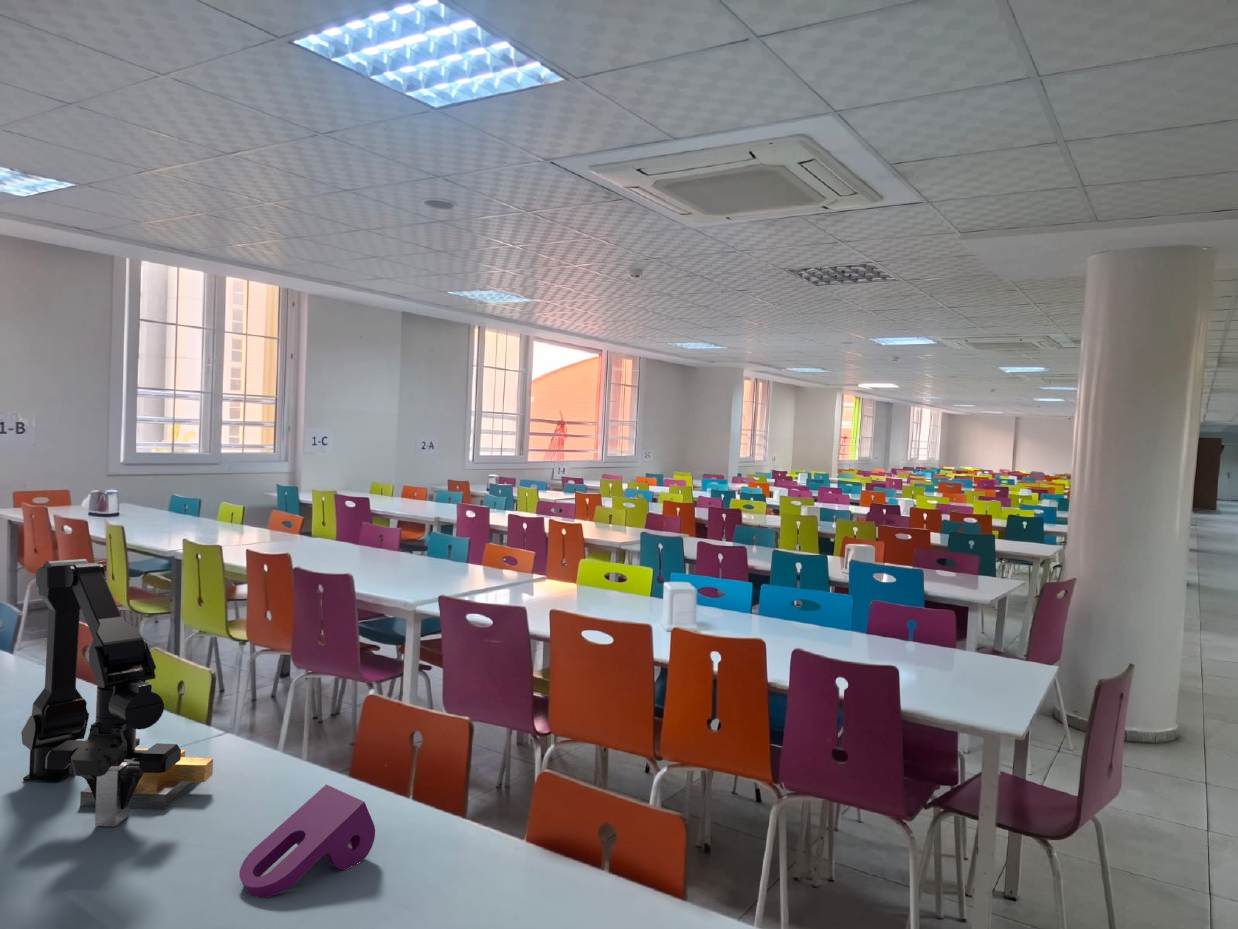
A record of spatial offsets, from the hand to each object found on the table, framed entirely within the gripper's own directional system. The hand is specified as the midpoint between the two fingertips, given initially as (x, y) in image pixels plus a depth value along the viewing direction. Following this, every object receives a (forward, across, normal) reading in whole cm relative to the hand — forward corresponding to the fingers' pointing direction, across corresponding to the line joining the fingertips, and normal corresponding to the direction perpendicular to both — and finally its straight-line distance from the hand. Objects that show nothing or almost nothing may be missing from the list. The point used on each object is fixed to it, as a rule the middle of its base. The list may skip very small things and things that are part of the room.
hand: (112, 808), depth 134 cm
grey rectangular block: (+2, 0, 0) cm, 2 cm away
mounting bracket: (+3, +35, -13) cm, 38 cm away
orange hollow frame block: (+2, +1, +12) cm, 12 cm away
